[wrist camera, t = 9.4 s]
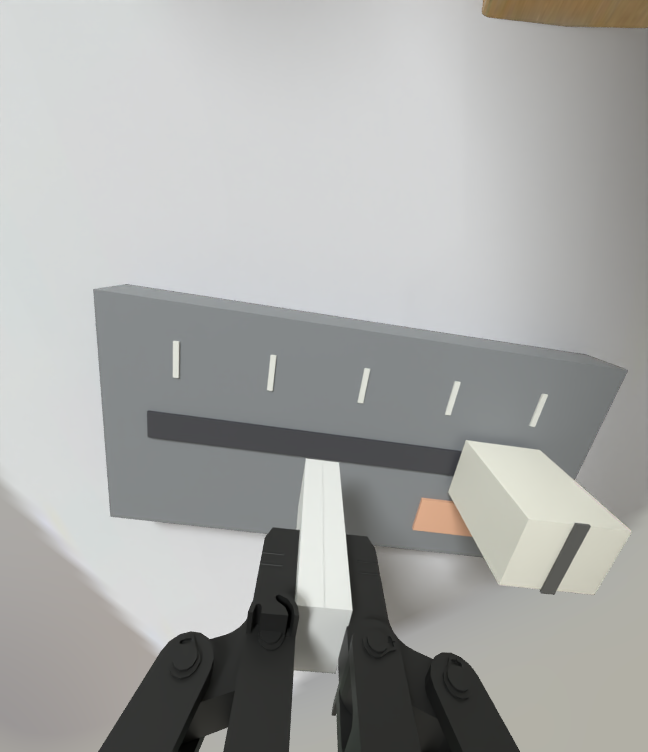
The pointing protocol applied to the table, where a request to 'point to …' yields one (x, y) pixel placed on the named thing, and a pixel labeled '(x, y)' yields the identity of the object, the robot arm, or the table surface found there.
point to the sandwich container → (571, 12)
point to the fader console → (320, 413)
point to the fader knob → (534, 520)
